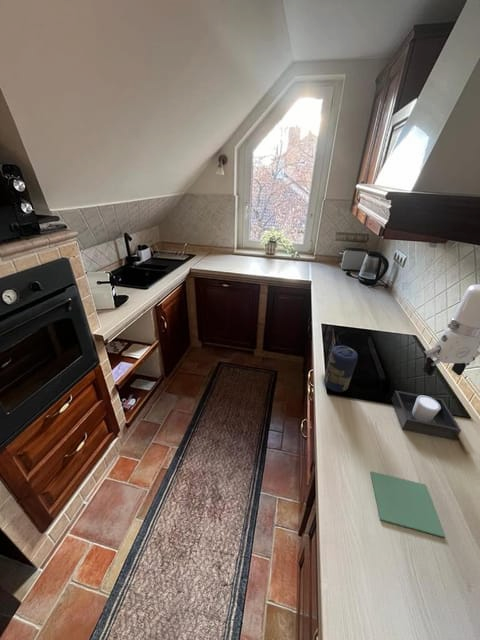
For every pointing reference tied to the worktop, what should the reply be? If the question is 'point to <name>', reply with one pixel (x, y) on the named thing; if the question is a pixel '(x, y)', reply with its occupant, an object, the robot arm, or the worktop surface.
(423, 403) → the white short cylinder
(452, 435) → the basin
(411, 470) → the worktop surface
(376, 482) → the drying mat
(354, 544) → the worktop surface
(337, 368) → the canister
